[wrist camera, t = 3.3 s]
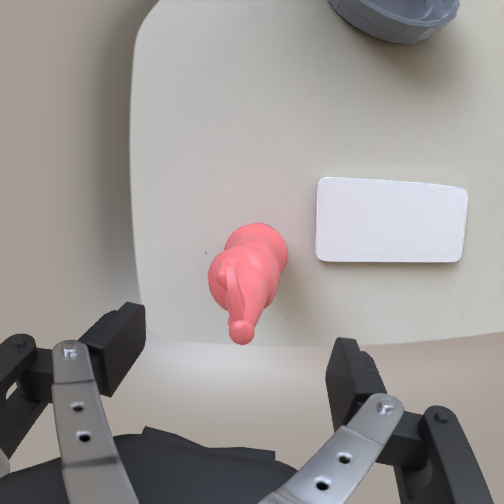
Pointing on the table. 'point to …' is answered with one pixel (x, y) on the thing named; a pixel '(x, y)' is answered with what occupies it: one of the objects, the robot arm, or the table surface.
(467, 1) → the table surface
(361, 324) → the table surface
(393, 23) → the bowl
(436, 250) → the smartphone
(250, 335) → the figurine
